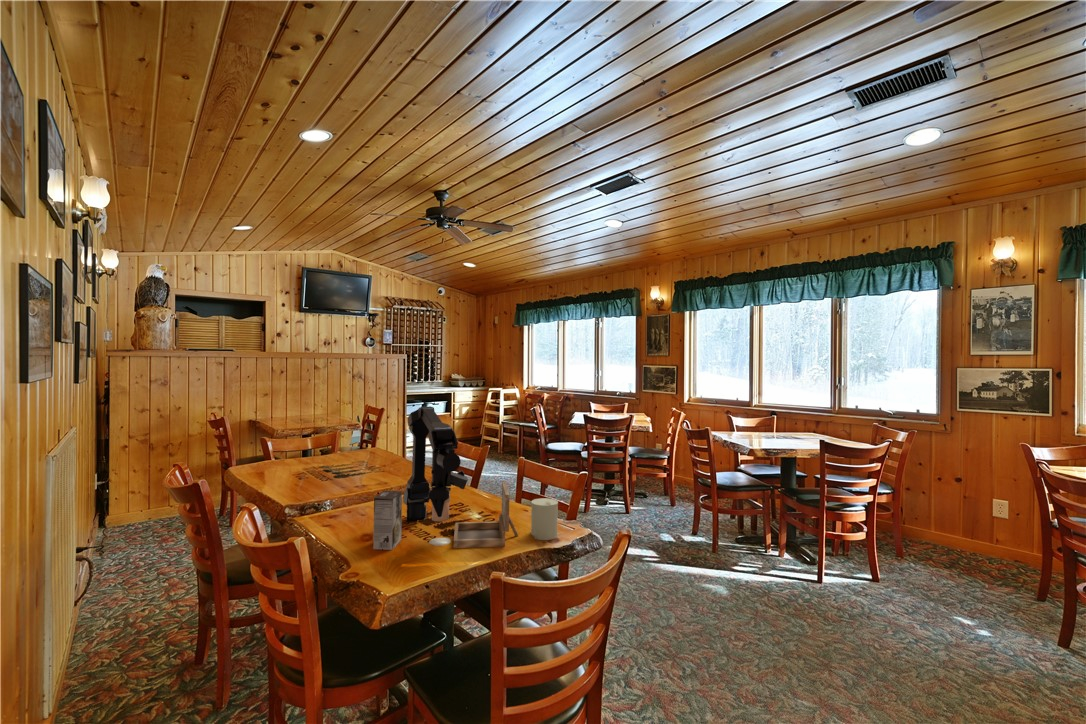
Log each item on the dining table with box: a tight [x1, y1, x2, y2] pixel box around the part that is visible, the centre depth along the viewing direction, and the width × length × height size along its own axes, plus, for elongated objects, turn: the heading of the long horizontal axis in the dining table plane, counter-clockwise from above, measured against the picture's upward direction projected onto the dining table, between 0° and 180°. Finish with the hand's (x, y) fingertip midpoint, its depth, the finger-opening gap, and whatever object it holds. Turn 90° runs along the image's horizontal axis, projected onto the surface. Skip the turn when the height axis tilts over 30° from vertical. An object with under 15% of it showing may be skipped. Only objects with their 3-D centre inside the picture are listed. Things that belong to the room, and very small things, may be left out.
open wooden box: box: [453, 480, 519, 549], centre depth 170 cm, size 21×19×17 cm
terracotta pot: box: [431, 496, 451, 522], centre depth 165 cm, size 6×6×7 cm
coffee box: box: [372, 490, 403, 551], centre depth 164 cm, size 9×6×16 cm
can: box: [530, 497, 559, 541], centre depth 175 cm, size 9×9×12 cm
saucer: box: [428, 537, 452, 547], centre depth 165 cm, size 7×7×1 cm
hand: (440, 514), depth 165 cm, fingers closed on terracotta pot, 5 cm apart
